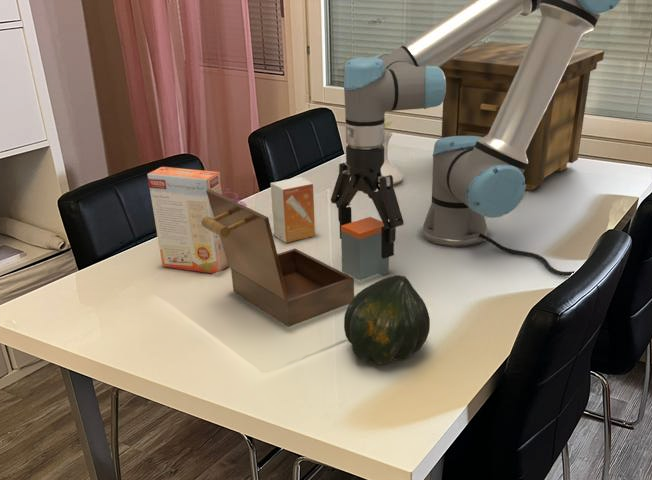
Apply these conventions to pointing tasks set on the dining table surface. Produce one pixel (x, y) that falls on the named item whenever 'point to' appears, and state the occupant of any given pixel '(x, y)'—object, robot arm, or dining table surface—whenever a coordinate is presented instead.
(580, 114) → the wooden drawer cabinet
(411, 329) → the squash
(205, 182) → the cracker box
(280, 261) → the chest
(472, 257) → the dining table surface
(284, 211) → the small box
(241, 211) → the chest lid
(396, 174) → the flower in vase
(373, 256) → the container
